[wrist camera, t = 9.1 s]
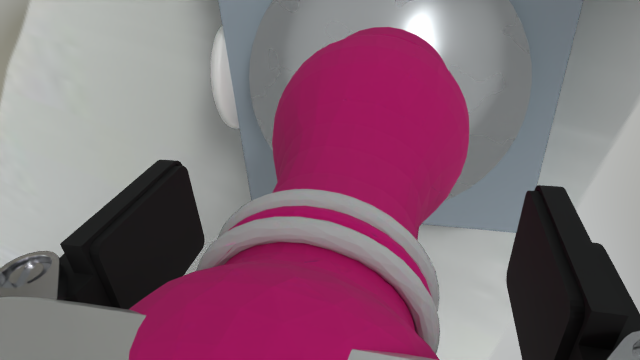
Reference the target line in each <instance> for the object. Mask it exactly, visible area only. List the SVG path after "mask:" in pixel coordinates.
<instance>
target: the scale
mask: <svg viewBox="0 0 640 360" xmlns="http://www.w3.org/2000/svg"><path fill="white" fill-rule="evenodd" d="M218 1H219V7H220V13H221V19H222V26H221V27H220V28H219V30H218V32H217V34H216V37H215V40H214V43H213V47H212V53H211V64H210V75H211V87H212V93H213V98H214V102H215V105H216V108H217V110H218V113H219V115H220V117H221V118H222V120H223V121H224V123H225V124H226V125H228V126H229V127H231V128H238V129H240V134H241V140H242V146H243V152H244V158H245V164H246V170H247V176H248V182H249V188H250V194H251V200H254V199H257V198H259V197H262V196H264V195H267V194H271V193H272V192H273V190H274V188H275V186H276V184H277V176H276V170H275V165H274V159H273V151H272V149H271V148H270V146H269V144H268V143H267V141H266V140H265V138H264V135H263V133H262V131H261V129H260V127H259V125H258V122H257V119H256V116H255V113H254V110H253V105H252V100H251V95H250V84H249V69H250V58H251V52H252V46H253V42H254V39H255V36H256V33H257V30H258V27H259V25H260V22H261V20H262V18H263V16H264V14H265V12H266V10H267V8H268V7H269V5H270V4H271V2H272V1H273V0H218ZM509 1H510V2H511V4H512V5H513V7H514V9H515V11H516V13H517V15H518V17H519V19H520V21H521V23H522V25H523V28H524V31H525V34H526V38H527V41H528V44H529V50H530V56H531V63H532V85H531V92H530V99H529V104H528V108H527V111H526V115H525V118H524V121H523V123H522V126H521V128H520V130H519V132H518V134H517V137H516V138H515V140H514V142H513V143H512V145H511V146H510V148H509V150H508V151H507V153H506V154H505V155H504V156H503V158H502V159H501V160H500V161H499V163H498V164H497V165H496V166H495V167H494V168H493V169H492V170H491V171H490V172H489V173H488V174H487V175H486V176H485V177H484V178H482V179H481V180H480V181H478V182H477V183H476V184H474V185H473V186H472V187H470V188H469V189H467V190H465V191H464V192H462V193H460V194H458V195H457V196H455V197H453V198H450V199H448V200H446V201H443V203H442V204H441V205H440V206H439V207H438V208H437V210H436V211H434V212H433V213H432V214H431V215H430V216H429V217H428V218H427V219H426V220H425V221H424V222H423V223H422V224H426V225H437V226H448V227H459V228H470V229H481V230H491V231H502V232H513V233H516V232H517V228H518V224H519V220H520V216H521V211H522V207H523V203H524V199H525V195H526V192H527V191H534V190H535V188H536V186H537V182H538V178H539V174H540V170H541V166H542V162H543V158H544V154H545V150H546V146H547V142H548V138H549V134H550V130H551V127H552V123H553V119H554V115H555V111H556V107H557V103H558V99H559V95H560V91H561V87H562V83H563V79H564V75H565V71H566V67H567V63H568V59H569V55H570V51H571V47H572V43H573V39H574V35H575V31H576V28H577V24H578V20H579V16H580V12H581V8H582V4H583V0H509Z"/></svg>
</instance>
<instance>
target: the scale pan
mask: <svg viewBox="0 0 640 360" xmlns="http://www.w3.org/2000/svg"><path fill="white" fill-rule="evenodd" d="M373 27H393V28H398V29H403V30H405V31H408V32H410V33H413V34H416V35H417V36H419V37H421V38H422V39H424V40H425V41H427V42H428V43H429V44H430V45H431V46H432V47H433V48H434V49H435V50H436V51H437V52H438V53H439V55H440V56H441V58H442V59H443V61H444V63H445V65H446V67H447V69H448V70H449V71H450V73H451V74H452V76H453V77H454V79H455V80H456V82H457V83H458V85H459V87H460V89H461V91H462V94H463V96H464V98H465V101H466V105H467V109H468V114H469V145H468V151H467V158H466V160H465V163H464V166H463V169H462V172H461V174H460V176H459V178H458V179H457V181H456V183H455V185H454V186H453V188H452V190H451V192H450V193H449V195H448V197H447V198H446V199H445V200H444V201H446V200H448V199H450V198H453V197H455V196H457V195H458V194H460V193H462V192H464V191H465V190H467V189H469V188H470V187H472V186H473V185H474V184H476V183H477V182H478V181H480V180H481V179H482V178H484V177H485V176H486V175H487V174H488V173H489V172H490V171H491V170H492V169H493V168H494V167H495V166H496V165H497V164H498V163H499V161H500V160H501V159H502V158H503V156H504V155H505V154H506V153H507V151H508V150H509V148H510V146H511V145H512V143H513V142H514V140H515V138H516V137H517V134H518V132H519V130H520V128H521V126H522V123H523V121H524V118H525V115H526V111H527V108H528V104H529V99H530V92H531V85H532V63H531V56H530V50H529V44H528V41H527V38H526V34H525V31H524V28H523V25H522V23H521V21H520V19H519V17H518V15H517V13H516V11H515V9H514V7H513V5H512V4H511V2H510V1H509V0H273V1H272V2H271V4H270V5H269V7H268V8H267V10H266V12H265V14H264V16H263V18H262V20H261V22H260V25H259V27H258V30H257V33H256V36H255V39H254V42H253V46H252V52H251V58H250V69H249V84H250V95H251V100H252V105H253V110H254V113H255V116H256V119H257V122H258V125H259V127H260V129H261V131H262V133H263V135H264V138H265V140H266V141H267V143H268V144H269V146H270V148H271V149H272V151H273V147H272V137H273V128H274V118H275V114H276V110H277V107H278V103H279V100H280V98H281V96H282V94H283V92H284V90H285V88H286V86H287V85H288V83H289V81H290V80H291V78H292V76H293V75H294V74H295V73H296V71H297V70H298V69H299V67H300V66H301V65H302V64H303V63H304V62H305V61H306V60H307V59H308V58H310V57H311V56H312V55H313V54H314V53H316V52H317V51H319V50H320V49H322V48H324V47H326V46H327V45H329V44H331V43H334V42H337V41H340V40H342V39H345V38H346V37H348V36H349V35H352V34H354V33H356V32H358V31H360V30H364V29H369V28H373Z"/></svg>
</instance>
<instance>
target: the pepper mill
mask: <svg viewBox="0 0 640 360" xmlns="http://www.w3.org/2000/svg"><path fill="white" fill-rule="evenodd" d="M468 145H469V114H468V109H467V105H466V101H465V98H464V96H463V94H462V91H461V89H460V87H459V85H458V83H457V82H456V80H455V79H454V77H453V76H452V74H451V73H450V71H449V70H448V69H447V67H446V65H445V63H444V61H443V59H442V58H441V56H440V55H439V53H438V52H437V51H436V50H435V49H434V48H433V47H432V46H431V45H430V44H429V43H428V42H427V41H425V40H424V39H422V38H421V37H419V36H417V35H416V34H413V33H410V32H408V31H405V30H403V29H398V28H393V27H373V28H369V29H364V30H360V31H358V32H356V33H354V34H352V35H349V36H348V37H346V38H345V39H342V40H340V41H337V42H334V43H331V44H329V45H327V46H326V47H324V48H322V49H320V50H319V51H317V52H316V53H314V54H313V55H312V56H311V57H310V58H308V59H307V60H306V61H305V62H304V63H303V64H302V65H301V66H300V67H299V69H298V70H297V71H296V73H295V74H294V75H293V76H292V78H291V80H290V81H289V83H288V85H287V86H286V88H285V90H284V92H283V94H282V96H281V98H280V100H279V103H278V107H277V110H276V114H275V118H274V128H273V137H272V147H273V159H274V165H275V170H276V176H277V184H276V186H275V188H274V190H273V192H272V193H271V194H267V195H264V196H262V197H259V198H257V199H254V200H252V201H250V202H249V203H247V204H245V205H244V206H242V207H241V208H240V209H239V210H238V211H237V212H235V213H234V214H233V215H232V216H231V217H230V218H229V219H228V221H227V222H226V223H225V224H224V226H223V228H222V230H221V232H220V234H219V236H218V239H217V240H216V241H215V242H213V243H212V244H211V245H210V246H209V248H208V249H207V251H206V252H205V254H204V255H203V257H202V258H201V260H200V262H199V265H198V268H197V271H195V272H192V273H190V274H187V275H184V276H182V277H179V278H177V279H174V280H171V281H169V282H167V283H165V284H164V285H162V286H161V287H159V288H158V289H156V290H155V291H153V292H152V293H150V294H149V295H147V296H146V297H145V298H143V299H142V300H140V301H139V302H138V303H136V304H135V305H134V306H132V307H131V308H130V309H129V310H132V311H135V312H138V313H140V314H143V315H146V317H145V319H144V320H143V322H142V324H141V325H140V327H139V328H138V331H137V333H136V336H135V338H134V341H133V343H132V346H131V348H130V351H129V360H348V358H349V355H350V353H351V350H352V349H357V350H372V351H382V352H391V353H400V354H407V355H413V356H419V357H425V358H431V359H436V360H439V358H438V357H437V356H436V352H437V349H438V344H439V336H440V328H439V318H438V314H437V311H438V305H439V285H438V281H437V276H436V271H435V269H434V267H433V265H432V263H431V261H430V259H429V257H428V255H427V253H426V252H425V250H424V249H423V247H422V246H421V244H420V243H419V242H418V241H417V237H418V230H419V226H420V225H421V224H422V223H423V222H424V221H425V220H426V219H427V218H428V217H429V216H430V215H431V214H432V213H433V212H434V211H436V210H437V208H438V207H439V206H440V205H441V204H442V203H443V201H444V200H445V199H446V198H447V197H448V195H449V193H450V192H451V190H452V188H453V186H454V185H455V183H456V181H457V179H458V178H459V176H460V174H461V172H462V169H463V166H464V163H465V160H466V158H467V151H468Z"/></svg>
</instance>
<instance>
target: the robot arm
mask: <svg viewBox="0 0 640 360" xmlns="http://www.w3.org/2000/svg"><path fill="white" fill-rule="evenodd" d="M60 245H61V247H62V249H63V251H64V253H65V254H63V255H62V256H61V257H60V258H59V257H58V255H57V254H55V253H54V252H49V251H38V252H33V253H29V254H26V255H23V256H20V257H18V258H16V259H14V260H12V261H10V262H8V263H7V264H5V265H4V266H3V267H1V268H0V360H129V351H130V348H131V346H132V343H133V341H134V338H135V336H136V333H137V331H138V328H139V327H140V325H141V324H142V322H143V320H144V319H145V317H146V315H143V314H140V313H138V312H135V311H132V310H129V309H130V308H131V307H132V306H134V305H135V304H136V303H138V302H139V301H140V300H142V299H143V298H145V297H146V296H147V295H149V294H150V293H152V292H153V291H155V290H156V289H158V288H159V287H161V286H162V285H164V284H165V283H167V282H169V281H171V280H174V279H177V278H179V277H182V276H183V275H184V274H185V272H186V271H187V270H188V268H189V267H190V265H191V264H192V263H193V261H194V260H195V258H196V257H197V256H198V254H199V253H200V251H201V250H202V248H203V246H204V234H203V230H202V226H201V222H200V218H199V214H198V210H197V206H196V202H195V198H194V194H193V190H192V186H191V182H190V178H189V174H188V171H187V168H186V167H184V166H182V164H181V162H179V161H171V160H159V161H157V162H156V163H155V164H153V165H152V166H151V167H150V168H149V169H147V170H146V171H145V172H144V173H143V174H142V175H140V176H139V177H138V178H137V179H136V180H135V181H133V182H132V183H131V184H130V185H129V186H128V187H126V188H125V189H124V190H123V191H122V192H120V193H119V194H118V195H117V196H116V197H115V198H113V199H112V200H111V201H110V202H109V203H108V204H106V205H105V206H104V207H103V208H102V209H101V210H99V211H98V212H97V213H96V214H95V215H94V216H92V217H91V218H90V219H89V220H88V221H86V222H85V223H84V224H83V225H82V226H81V227H79V228H78V229H77V230H76V231H75V232H74V233H72V234H71V235H70V236H69V237H68V238H67V239H65V240H64V241H63V242H62V243H61V244H60ZM507 288H508V293H509V298H510V302H511V307H512V312H513V317H514V321H515V326H516V331H517V335H518V341H519V346H520V350H521V355H522V360H640V314H639V312H638V310H637V308H636V306H635V304H634V302H633V300H632V299H631V297H630V295H629V293H628V291H627V289H626V288H625V286H624V284H623V282H622V280H621V278H620V276H619V274H618V273H617V271H616V269H615V267H614V265H613V263H612V261H611V259H610V258H609V256H608V254H607V252H606V250H605V249H604V247H603V246H602V245H601V244H598V243H592V242H591V240H590V238H589V236H588V234H587V232H586V230H585V228H584V226H583V224H582V222H581V220H580V218H579V216H578V214H577V212H576V210H575V208H574V206H573V204H572V202H571V200H570V198H569V196H568V194H567V192H566V190H565V189H564V187H555V186H540V185H538V186H536V188H535V190H534V191H527V192H526V195H525V199H524V203H523V207H522V211H521V216H520V220H519V224H518V228H517V232H516V236H515V241H514V245H513V249H512V253H511V257H510V261H509V266H508V270H507ZM348 360H436V359H431V358H425V357H419V356H413V355H407V354H400V353H391V352H382V351H372V350H357V349H352V350H351V353H350V355H349V358H348Z"/></svg>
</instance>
